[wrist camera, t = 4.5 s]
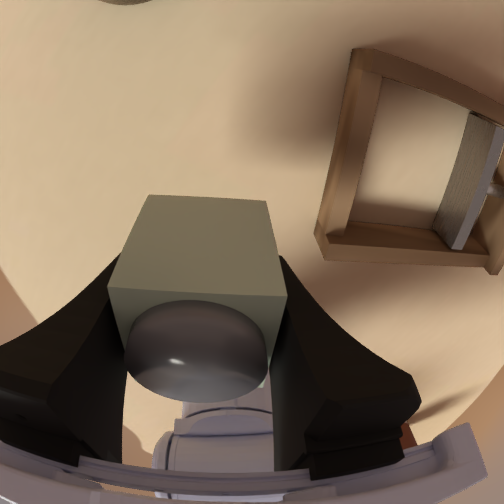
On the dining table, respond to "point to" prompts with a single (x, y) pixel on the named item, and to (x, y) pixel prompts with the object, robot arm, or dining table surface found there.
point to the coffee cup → (407, 437)
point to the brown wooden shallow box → (351, 162)
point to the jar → (199, 297)
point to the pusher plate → (470, 181)
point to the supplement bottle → (125, 2)
